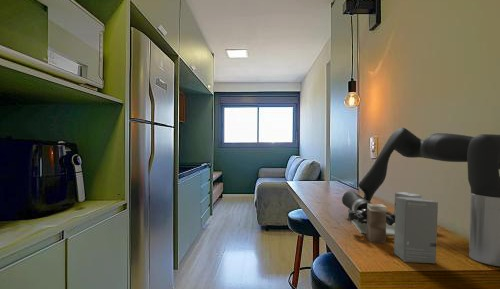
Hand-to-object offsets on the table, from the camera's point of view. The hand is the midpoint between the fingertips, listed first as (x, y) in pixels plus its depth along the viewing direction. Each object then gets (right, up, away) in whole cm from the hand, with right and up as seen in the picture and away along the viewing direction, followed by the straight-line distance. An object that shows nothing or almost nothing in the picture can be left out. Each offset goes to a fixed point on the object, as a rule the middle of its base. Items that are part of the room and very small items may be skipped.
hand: (376, 221), depth 94 cm
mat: (+7, -6, +15) cm, 18 cm away
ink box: (+21, -7, +22) cm, 32 cm away
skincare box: (+4, -6, -14) cm, 16 cm away
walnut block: (0, -6, 0) cm, 6 cm away
